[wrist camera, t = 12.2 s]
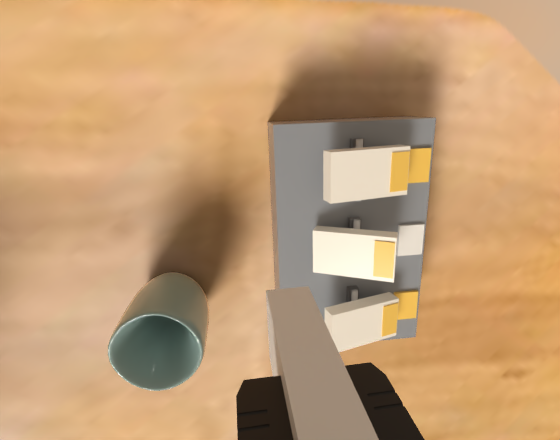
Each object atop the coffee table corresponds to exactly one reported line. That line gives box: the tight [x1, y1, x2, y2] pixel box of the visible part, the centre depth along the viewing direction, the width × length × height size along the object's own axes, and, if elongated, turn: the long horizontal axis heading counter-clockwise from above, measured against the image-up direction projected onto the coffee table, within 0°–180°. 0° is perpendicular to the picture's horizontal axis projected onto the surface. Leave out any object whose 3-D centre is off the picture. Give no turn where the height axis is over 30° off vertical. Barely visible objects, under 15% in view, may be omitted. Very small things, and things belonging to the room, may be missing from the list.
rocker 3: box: [325, 292, 399, 352], centre depth 33 cm, size 7×4×2 cm, turn 91°
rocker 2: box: [313, 226, 398, 283], centre depth 31 cm, size 7×4×2 cm, turn 93°
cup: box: [108, 272, 209, 391], centre depth 35 cm, size 8×8×10 cm
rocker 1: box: [323, 145, 411, 204], centre depth 29 cm, size 7×4×2 cm, turn 92°
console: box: [268, 116, 436, 341], centre depth 36 cm, size 14×22×7 cm, turn 2°
